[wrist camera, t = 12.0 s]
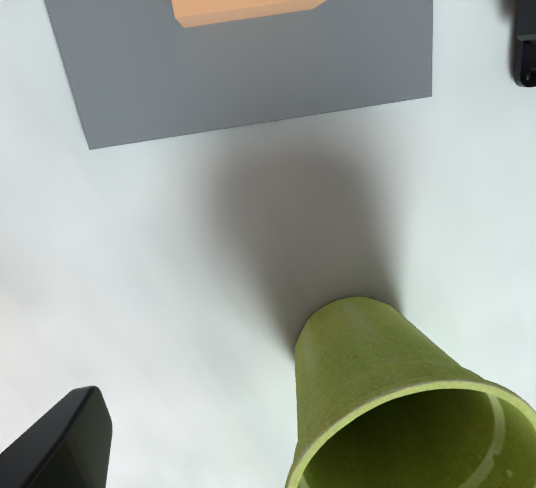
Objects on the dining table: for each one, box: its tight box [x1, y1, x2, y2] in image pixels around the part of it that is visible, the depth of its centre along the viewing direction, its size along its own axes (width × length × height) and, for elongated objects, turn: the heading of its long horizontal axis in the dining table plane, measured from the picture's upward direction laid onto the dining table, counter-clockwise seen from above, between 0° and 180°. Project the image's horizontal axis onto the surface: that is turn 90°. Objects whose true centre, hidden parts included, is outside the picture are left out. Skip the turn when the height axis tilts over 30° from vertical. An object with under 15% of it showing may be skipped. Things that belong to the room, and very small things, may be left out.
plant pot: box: [285, 296, 536, 488], centre depth 19 cm, size 9×9×9 cm
